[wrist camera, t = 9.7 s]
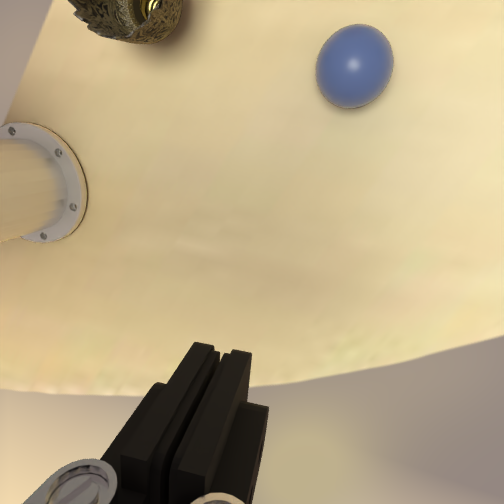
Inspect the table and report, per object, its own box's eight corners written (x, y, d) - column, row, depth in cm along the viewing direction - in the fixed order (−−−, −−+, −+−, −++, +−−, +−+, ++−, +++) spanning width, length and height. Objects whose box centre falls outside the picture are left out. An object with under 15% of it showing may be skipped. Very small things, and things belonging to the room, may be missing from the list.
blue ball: (396, 8, 22) (366, 7, 27) (313, 52, 23) (298, 45, 28) (413, 93, 25) (384, 79, 30) (339, 129, 26) (322, 111, 31)
